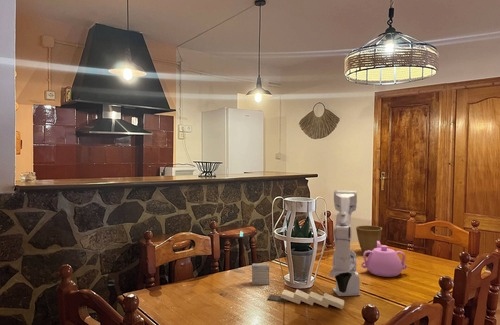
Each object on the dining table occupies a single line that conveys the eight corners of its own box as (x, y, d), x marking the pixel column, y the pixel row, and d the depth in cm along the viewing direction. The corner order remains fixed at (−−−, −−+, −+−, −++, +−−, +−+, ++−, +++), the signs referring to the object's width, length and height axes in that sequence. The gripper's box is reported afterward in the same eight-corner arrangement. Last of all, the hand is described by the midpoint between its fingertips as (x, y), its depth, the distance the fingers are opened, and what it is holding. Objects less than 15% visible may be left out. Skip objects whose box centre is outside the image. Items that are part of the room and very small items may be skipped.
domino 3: (315, 297, 145) (296, 289, 148) (313, 302, 140) (294, 293, 143) (314, 300, 145) (295, 292, 148) (312, 305, 141) (293, 297, 143)
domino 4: (330, 299, 143) (310, 291, 146) (328, 304, 139) (309, 295, 141) (329, 302, 144) (309, 294, 146) (327, 307, 139) (307, 299, 141)
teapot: (398, 266, 192) (398, 240, 192) (412, 279, 171) (412, 250, 170) (356, 265, 194) (356, 239, 194) (365, 278, 173) (365, 249, 173)
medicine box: (268, 281, 168) (268, 263, 168) (269, 284, 164) (269, 265, 164) (251, 281, 168) (251, 263, 168) (252, 285, 164) (252, 266, 164)
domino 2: (302, 295, 147) (284, 289, 149) (300, 300, 142) (281, 293, 145) (302, 299, 147) (283, 292, 149) (299, 304, 142) (280, 297, 145)
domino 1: (289, 296, 149) (270, 294, 151) (286, 301, 144) (267, 298, 146) (289, 300, 149) (270, 298, 151) (286, 305, 144) (267, 302, 146)
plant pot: (364, 249, 227) (364, 224, 227) (386, 254, 215) (386, 227, 215) (350, 253, 217) (350, 227, 217) (373, 259, 206) (373, 231, 206)
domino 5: (344, 300, 142) (324, 292, 144) (343, 305, 137) (323, 297, 139) (343, 304, 142) (323, 296, 144) (342, 309, 137) (321, 301, 139)
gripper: (344, 251, 147) (344, 284, 147) (322, 258, 137) (322, 293, 137) (359, 254, 142) (359, 289, 142) (338, 262, 132) (338, 298, 132)
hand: (342, 291), depth 139 cm, fingers closed
